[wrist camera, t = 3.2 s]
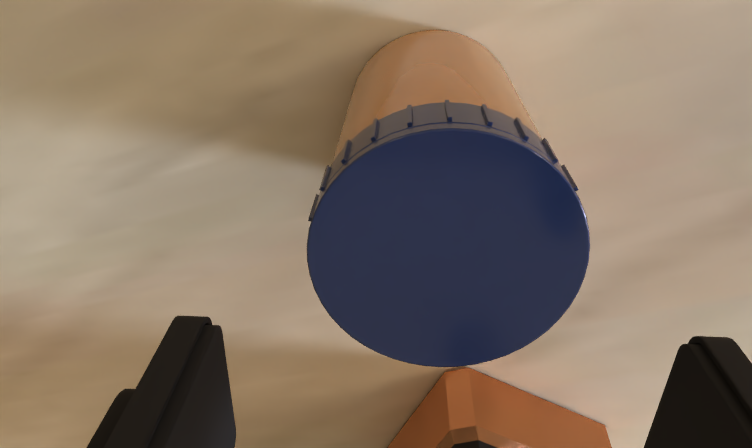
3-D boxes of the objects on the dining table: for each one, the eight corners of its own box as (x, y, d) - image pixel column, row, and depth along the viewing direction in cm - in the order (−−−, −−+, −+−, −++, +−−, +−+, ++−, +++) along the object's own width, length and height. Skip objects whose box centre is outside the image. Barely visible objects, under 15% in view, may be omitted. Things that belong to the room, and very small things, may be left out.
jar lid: (606, 117, 14) (633, 146, 12) (537, 336, 17) (551, 383, 16) (323, 83, 14) (311, 108, 12) (308, 310, 17) (298, 353, 16)
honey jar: (530, 40, 22) (617, 143, 13) (495, 195, 25) (543, 365, 16) (358, 19, 22) (321, 107, 13) (344, 177, 25) (306, 338, 16)
